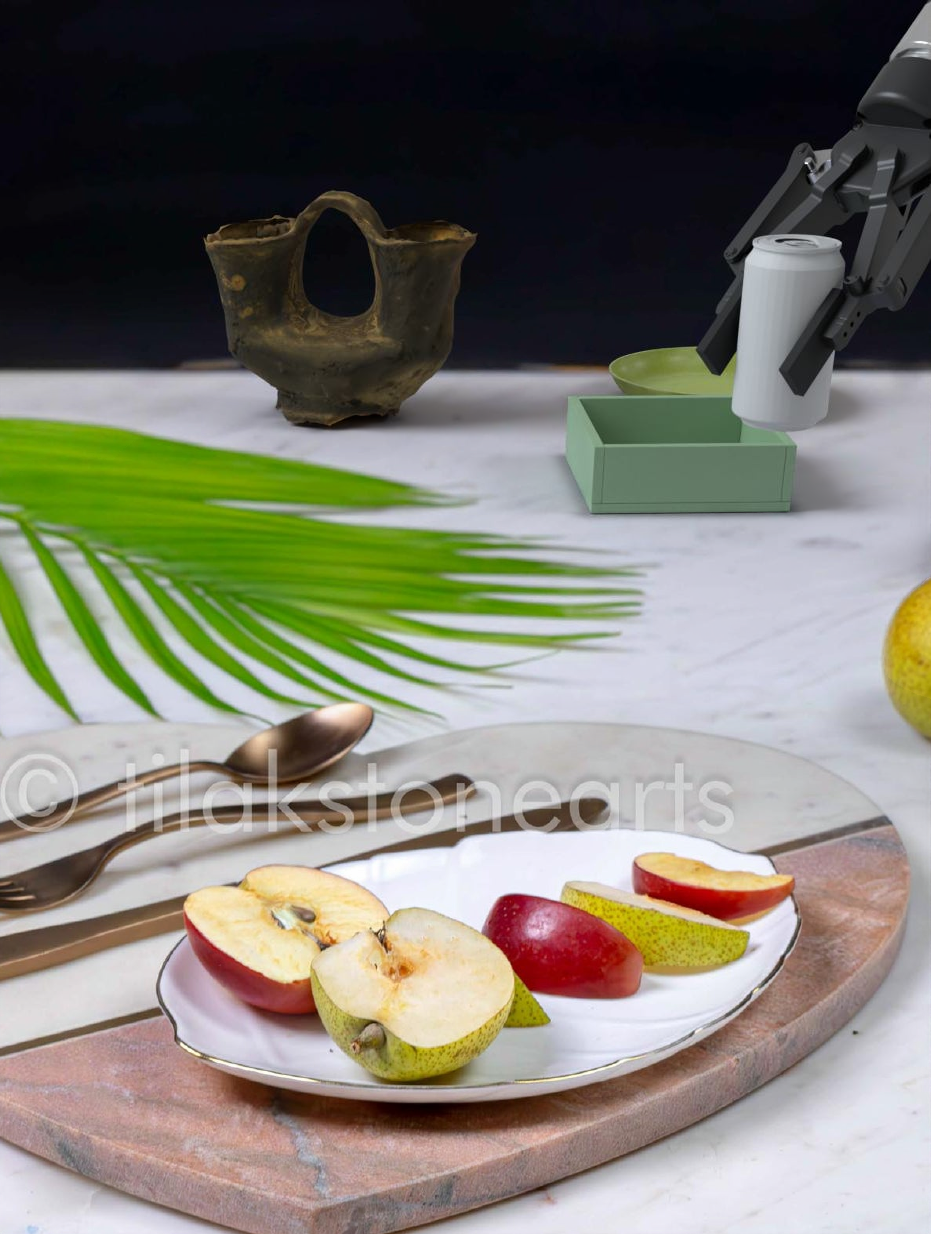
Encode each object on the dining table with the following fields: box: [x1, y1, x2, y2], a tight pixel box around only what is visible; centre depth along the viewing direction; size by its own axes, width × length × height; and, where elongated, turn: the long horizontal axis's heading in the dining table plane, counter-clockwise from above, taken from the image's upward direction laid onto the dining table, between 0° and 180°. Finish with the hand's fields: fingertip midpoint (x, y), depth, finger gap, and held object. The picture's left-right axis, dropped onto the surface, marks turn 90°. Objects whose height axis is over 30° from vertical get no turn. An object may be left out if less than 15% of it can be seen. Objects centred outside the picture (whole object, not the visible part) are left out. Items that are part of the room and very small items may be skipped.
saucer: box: [608, 346, 737, 396], centre depth 162 cm, size 21×21×3 cm
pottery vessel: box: [203, 190, 478, 427], centre depth 154 cm, size 25×11×20 cm, turn 76°
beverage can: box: [732, 234, 846, 433], centre depth 113 cm, size 6×6×12 cm
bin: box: [564, 395, 798, 514], centre depth 138 cm, size 16×16×5 cm
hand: (748, 372), depth 112 cm, fingers closed on beverage can, 6 cm apart
